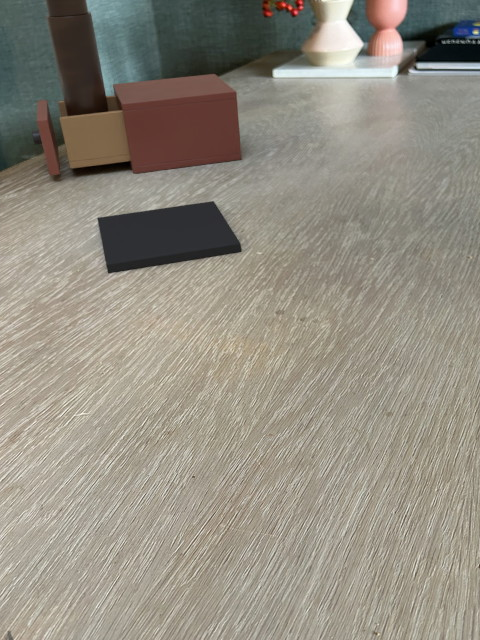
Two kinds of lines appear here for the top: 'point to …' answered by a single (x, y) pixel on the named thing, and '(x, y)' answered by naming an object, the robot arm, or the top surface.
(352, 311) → the top surface
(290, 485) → the top surface
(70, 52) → the pepper mill
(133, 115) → the cabinet
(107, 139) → the drawer
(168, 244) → the plate
